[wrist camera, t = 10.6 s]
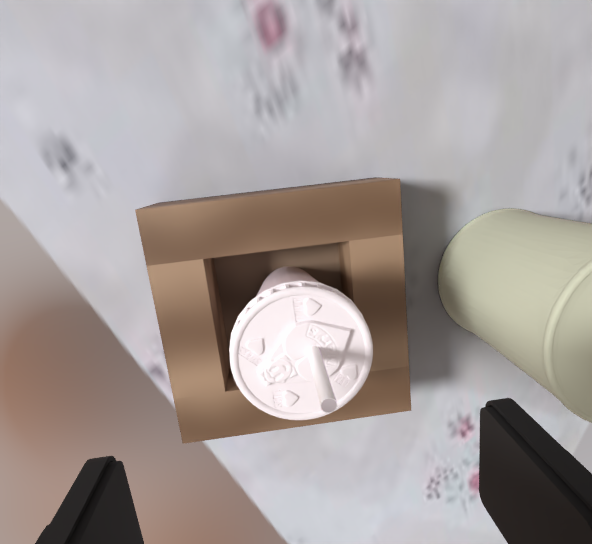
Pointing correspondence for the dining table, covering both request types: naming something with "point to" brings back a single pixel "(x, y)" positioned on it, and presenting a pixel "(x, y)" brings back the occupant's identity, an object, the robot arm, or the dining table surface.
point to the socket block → (250, 276)
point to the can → (527, 296)
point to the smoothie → (299, 347)
